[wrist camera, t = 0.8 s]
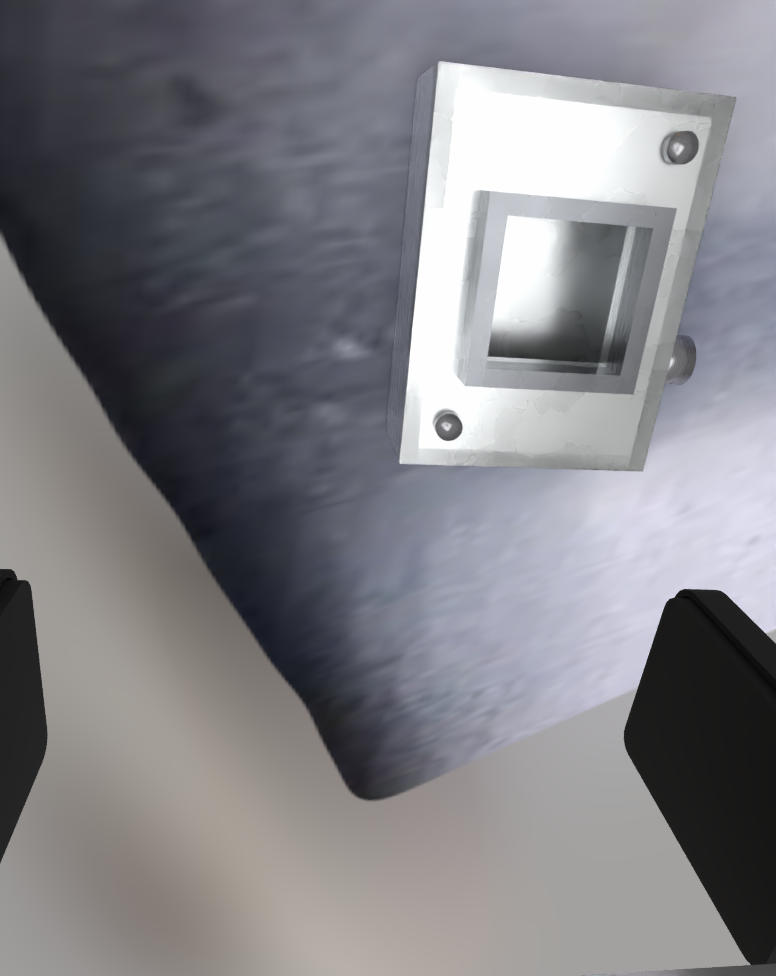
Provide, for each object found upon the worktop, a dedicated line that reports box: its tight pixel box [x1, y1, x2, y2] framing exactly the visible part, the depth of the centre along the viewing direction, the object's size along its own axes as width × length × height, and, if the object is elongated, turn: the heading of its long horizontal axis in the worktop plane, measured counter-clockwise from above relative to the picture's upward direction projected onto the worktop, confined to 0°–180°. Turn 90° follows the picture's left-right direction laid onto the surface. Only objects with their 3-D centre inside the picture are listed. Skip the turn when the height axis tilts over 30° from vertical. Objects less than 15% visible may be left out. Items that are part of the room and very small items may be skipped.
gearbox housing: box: [386, 61, 736, 471], centre depth 31 cm, size 16×14×6 cm
